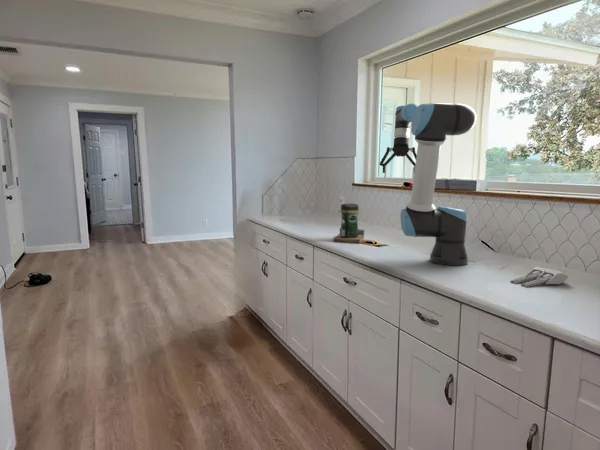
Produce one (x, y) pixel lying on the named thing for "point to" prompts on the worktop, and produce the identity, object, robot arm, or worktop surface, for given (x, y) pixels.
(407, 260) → the worktop surface
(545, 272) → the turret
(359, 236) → the brown piece
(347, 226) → the coffee jar
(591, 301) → the worktop surface
